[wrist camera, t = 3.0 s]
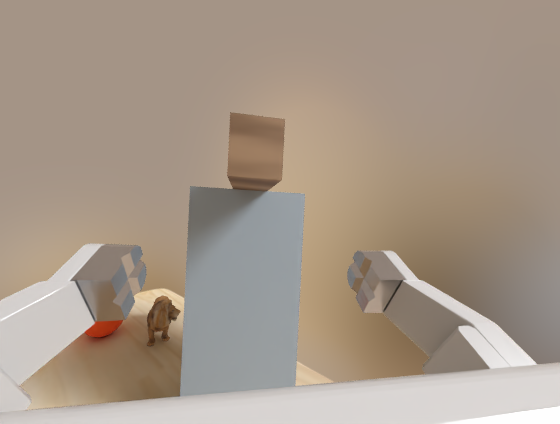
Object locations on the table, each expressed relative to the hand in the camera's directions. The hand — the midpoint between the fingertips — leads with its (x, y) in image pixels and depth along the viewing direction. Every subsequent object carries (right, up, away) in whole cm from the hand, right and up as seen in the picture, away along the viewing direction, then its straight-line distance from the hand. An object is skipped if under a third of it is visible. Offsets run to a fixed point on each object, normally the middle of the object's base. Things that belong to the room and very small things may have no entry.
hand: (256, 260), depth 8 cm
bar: (-3, +4, +16) cm, 17 cm away
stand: (-5, -25, +21) cm, 33 cm away
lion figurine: (-24, -24, +37) cm, 50 cm away
